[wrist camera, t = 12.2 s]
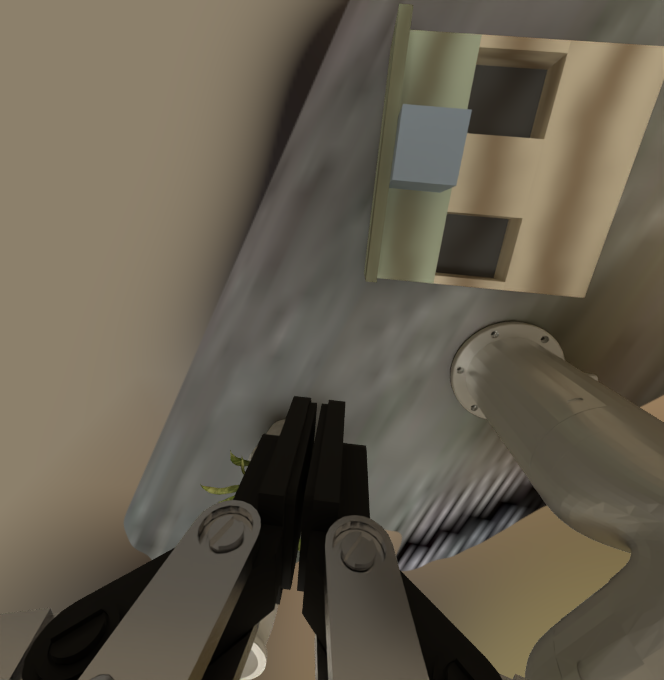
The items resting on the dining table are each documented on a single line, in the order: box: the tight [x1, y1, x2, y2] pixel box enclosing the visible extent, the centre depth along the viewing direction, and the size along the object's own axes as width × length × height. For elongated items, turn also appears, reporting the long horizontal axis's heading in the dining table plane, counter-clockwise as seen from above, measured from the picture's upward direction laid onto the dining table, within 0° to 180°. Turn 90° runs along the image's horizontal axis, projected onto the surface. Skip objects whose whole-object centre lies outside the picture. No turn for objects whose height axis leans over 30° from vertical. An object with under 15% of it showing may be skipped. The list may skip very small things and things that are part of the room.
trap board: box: [364, 4, 664, 298], centre depth 28 cm, size 22×20×6 cm
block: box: [389, 104, 472, 193], centre depth 26 cm, size 5×5×5 cm
